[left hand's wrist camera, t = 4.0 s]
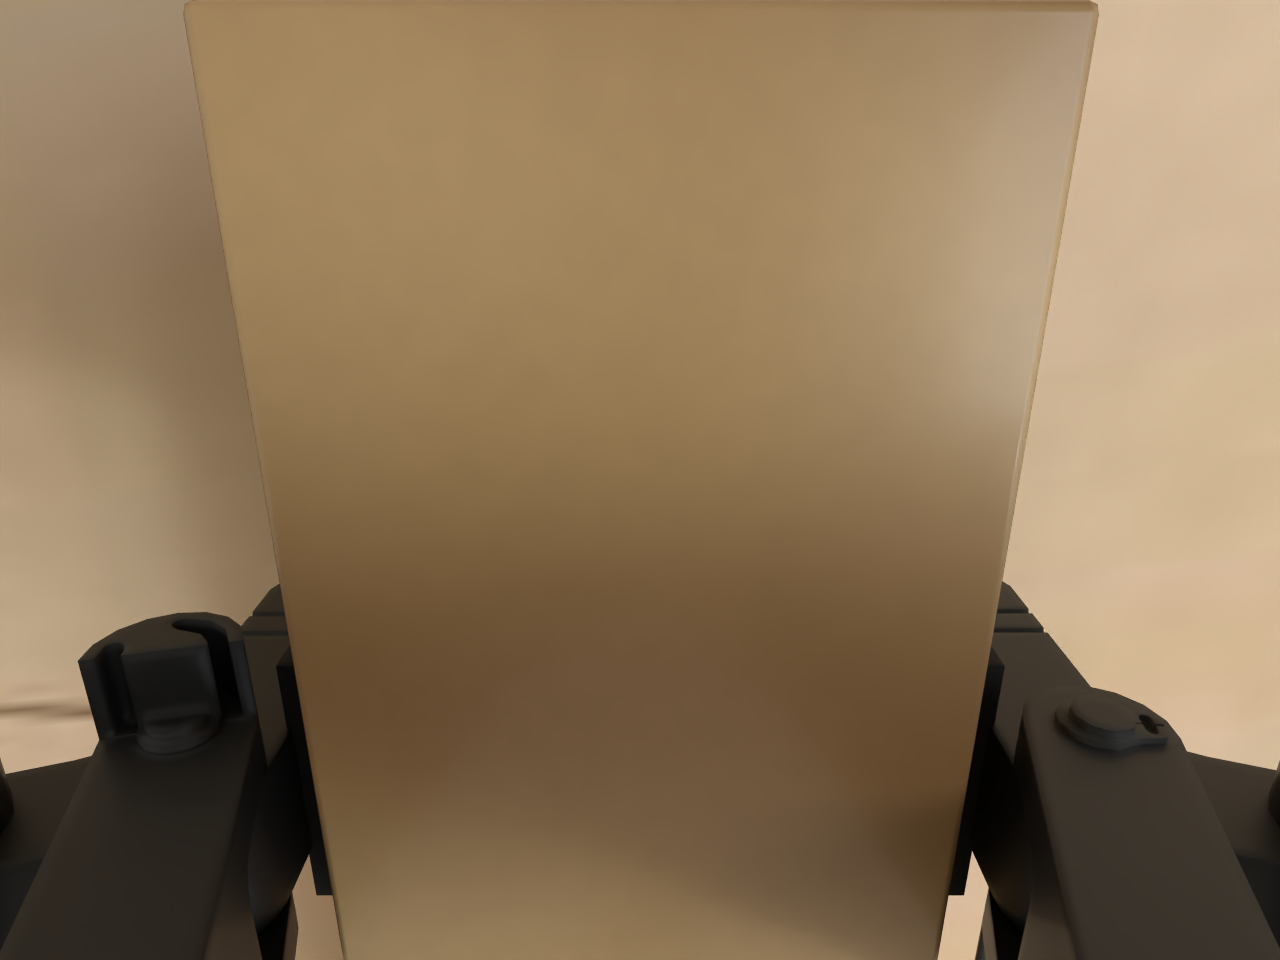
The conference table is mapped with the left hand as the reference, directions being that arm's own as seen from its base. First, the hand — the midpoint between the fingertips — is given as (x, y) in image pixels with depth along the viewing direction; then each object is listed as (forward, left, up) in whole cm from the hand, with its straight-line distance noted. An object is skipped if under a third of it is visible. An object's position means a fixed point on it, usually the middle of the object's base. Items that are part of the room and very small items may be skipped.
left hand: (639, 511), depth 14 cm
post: (+19, +14, -1) cm, 24 cm away
